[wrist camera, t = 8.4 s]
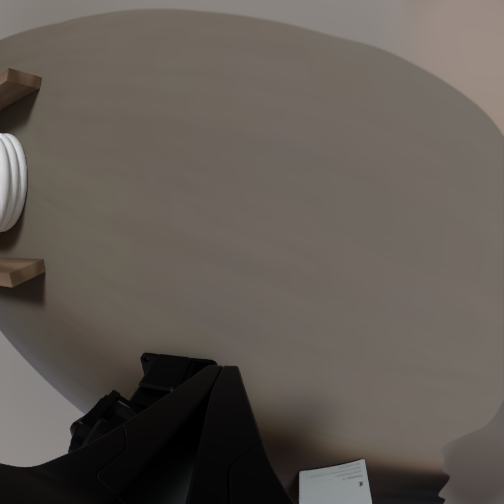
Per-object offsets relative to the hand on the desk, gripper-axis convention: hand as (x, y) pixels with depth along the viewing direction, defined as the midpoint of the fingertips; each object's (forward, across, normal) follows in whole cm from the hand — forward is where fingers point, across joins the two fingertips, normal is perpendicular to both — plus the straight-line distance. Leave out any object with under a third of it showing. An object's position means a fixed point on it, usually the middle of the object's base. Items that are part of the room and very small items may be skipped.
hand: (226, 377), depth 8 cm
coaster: (+12, +25, -9) cm, 30 cm away
